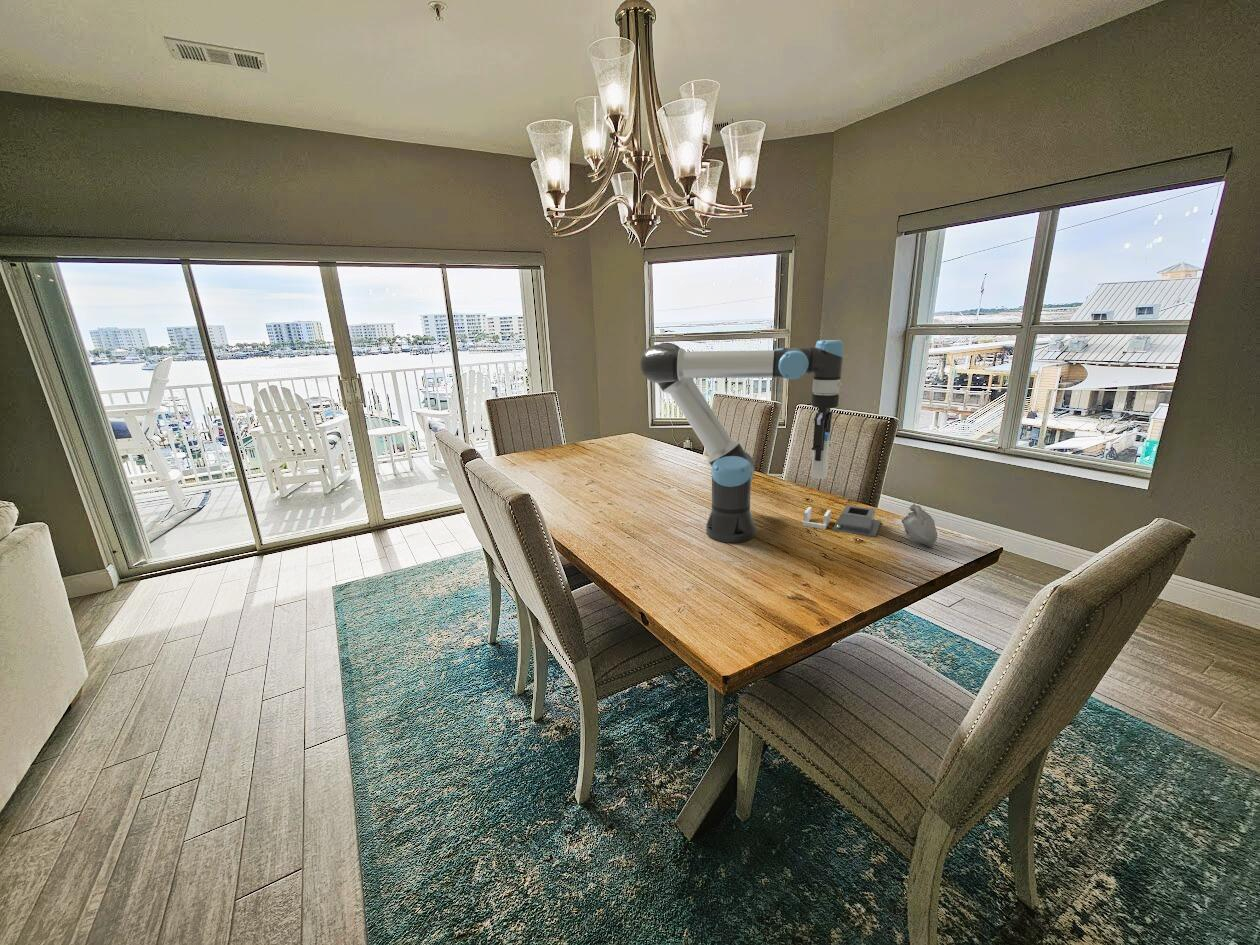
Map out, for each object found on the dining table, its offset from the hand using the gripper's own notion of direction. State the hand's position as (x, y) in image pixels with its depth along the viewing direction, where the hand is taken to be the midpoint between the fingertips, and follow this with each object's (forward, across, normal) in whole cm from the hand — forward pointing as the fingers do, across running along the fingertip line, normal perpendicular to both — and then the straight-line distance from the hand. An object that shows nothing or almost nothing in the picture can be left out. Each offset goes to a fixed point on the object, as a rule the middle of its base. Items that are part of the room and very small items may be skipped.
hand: (819, 468), depth 150 cm
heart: (+18, -4, -30) cm, 35 cm away
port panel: (+18, +3, -12) cm, 22 cm away
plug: (+3, 0, 0) cm, 3 cm away
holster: (+18, 0, -1) cm, 18 cm away
